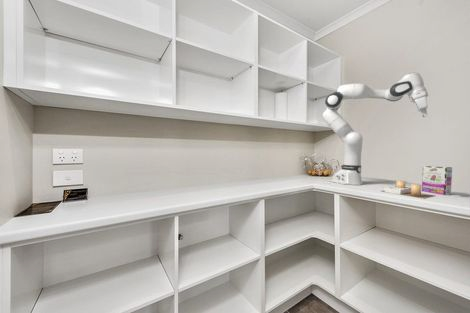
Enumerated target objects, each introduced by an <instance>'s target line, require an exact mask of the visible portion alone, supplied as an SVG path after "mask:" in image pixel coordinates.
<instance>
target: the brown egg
mask: <svg viewBox="0 0 470 313" xmlns="http://www.w3.org/2000/svg"><path fill="white" fill-rule="evenodd" d="M410 188H411V195H412V196H418V197H421V193H422V185H421V184H419V183H418V184H416V183H411V184H410Z"/></svg>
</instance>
